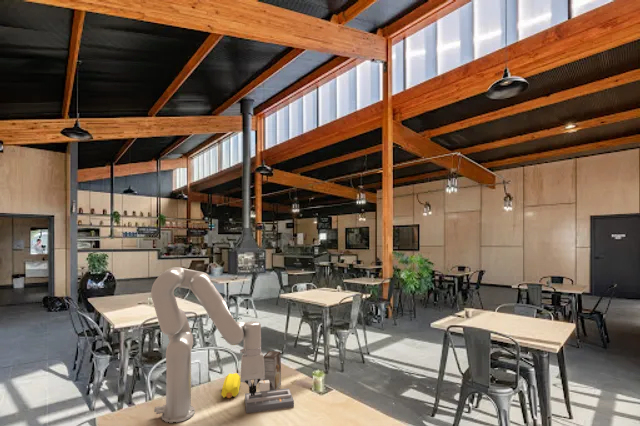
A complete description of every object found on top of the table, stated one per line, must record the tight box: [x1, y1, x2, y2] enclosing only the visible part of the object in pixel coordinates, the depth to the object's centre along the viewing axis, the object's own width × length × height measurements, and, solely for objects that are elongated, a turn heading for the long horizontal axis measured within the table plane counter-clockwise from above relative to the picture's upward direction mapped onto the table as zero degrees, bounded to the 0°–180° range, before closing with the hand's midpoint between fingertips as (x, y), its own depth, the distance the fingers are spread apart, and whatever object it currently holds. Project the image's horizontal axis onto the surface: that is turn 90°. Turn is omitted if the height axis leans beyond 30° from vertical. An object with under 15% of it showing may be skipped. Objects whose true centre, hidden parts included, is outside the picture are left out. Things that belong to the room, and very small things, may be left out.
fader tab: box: [258, 380, 270, 397], centre depth 151 cm, size 4×3×6 cm
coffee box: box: [262, 350, 282, 391], centre depth 167 cm, size 9×6×16 cm
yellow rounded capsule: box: [220, 372, 242, 399], centre depth 164 cm, size 18×7×8 cm
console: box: [244, 387, 295, 414], centre depth 152 cm, size 20×13×3 cm, turn 104°
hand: (252, 394), depth 150 cm, fingers closed
